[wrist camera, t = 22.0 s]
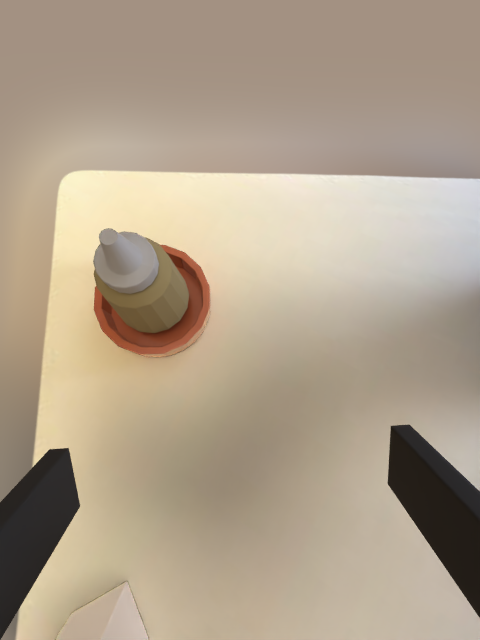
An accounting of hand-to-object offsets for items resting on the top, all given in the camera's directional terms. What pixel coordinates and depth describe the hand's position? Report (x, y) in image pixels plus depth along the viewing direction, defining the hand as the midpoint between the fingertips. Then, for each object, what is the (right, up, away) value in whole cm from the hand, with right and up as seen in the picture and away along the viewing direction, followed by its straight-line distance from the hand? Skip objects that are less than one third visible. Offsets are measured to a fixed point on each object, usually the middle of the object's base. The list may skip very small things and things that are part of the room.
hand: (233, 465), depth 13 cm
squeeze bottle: (-10, +8, +25) cm, 28 cm away
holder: (-10, +8, +25) cm, 28 cm away
